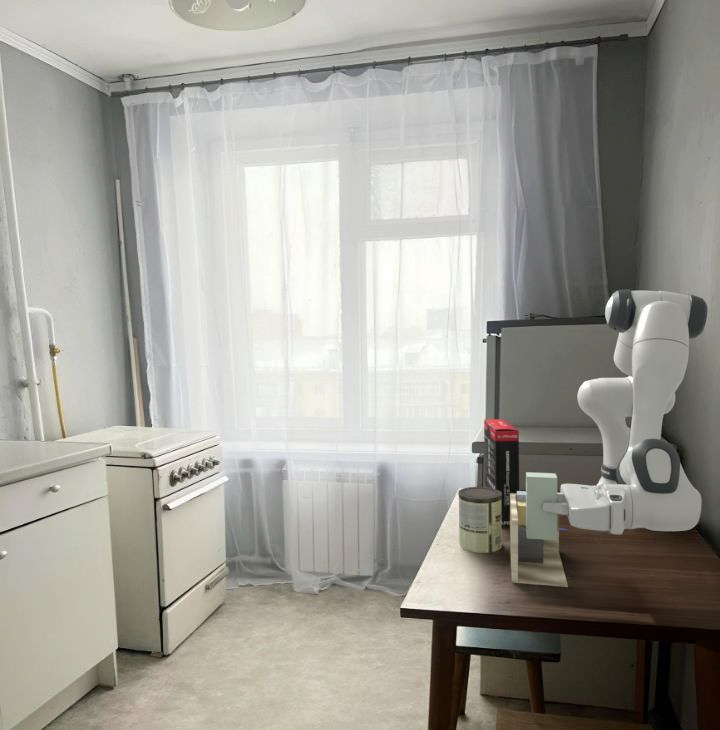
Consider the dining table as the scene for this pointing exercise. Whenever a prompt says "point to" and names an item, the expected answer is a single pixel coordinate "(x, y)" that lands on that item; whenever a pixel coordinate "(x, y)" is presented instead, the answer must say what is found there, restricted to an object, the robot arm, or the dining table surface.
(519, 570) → the shelf
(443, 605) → the dining table surface
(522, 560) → the bookend
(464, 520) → the coffee can
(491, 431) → the graphics card box
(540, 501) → the boxed book
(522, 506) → the shelved books
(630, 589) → the dining table surface
